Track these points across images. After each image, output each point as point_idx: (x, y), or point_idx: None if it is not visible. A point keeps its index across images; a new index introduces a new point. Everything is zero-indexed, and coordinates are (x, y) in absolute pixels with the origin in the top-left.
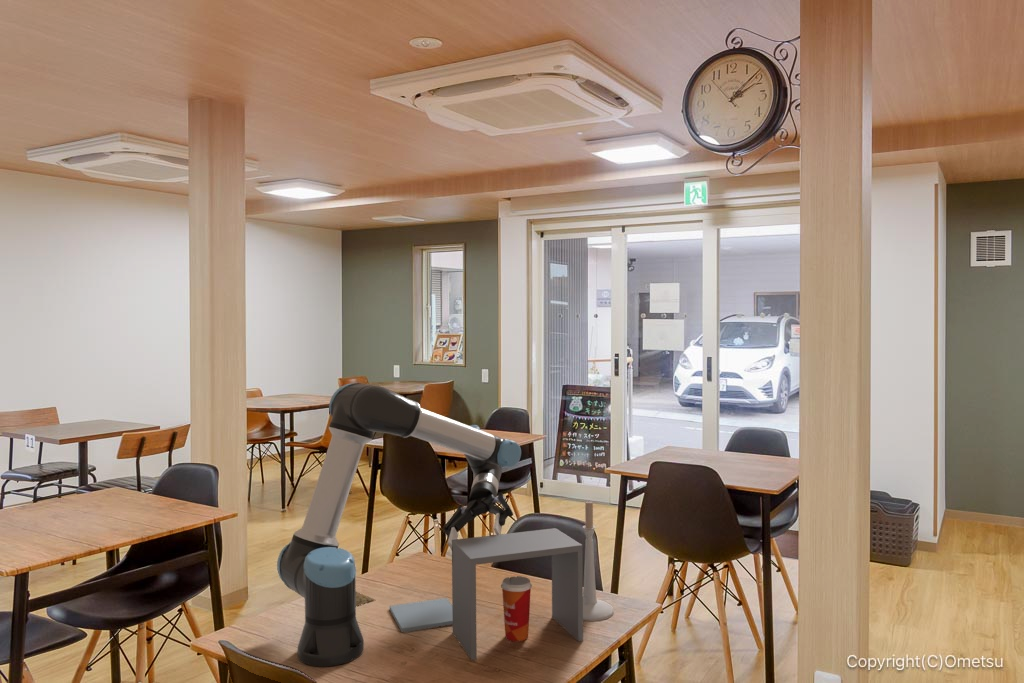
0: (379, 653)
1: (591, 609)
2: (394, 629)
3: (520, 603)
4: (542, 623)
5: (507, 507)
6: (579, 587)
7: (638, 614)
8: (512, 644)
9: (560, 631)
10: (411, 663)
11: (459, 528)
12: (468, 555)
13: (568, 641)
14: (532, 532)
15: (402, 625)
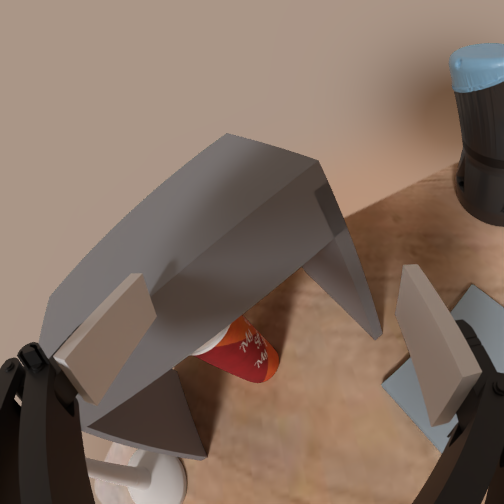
0: (445, 219)
1: (144, 455)
2: (491, 291)
3: None
4: (222, 428)
5: (7, 362)
6: None
7: (109, 462)
8: (263, 335)
9: (196, 401)
10: (386, 222)
11: (438, 465)
12: (233, 136)
13: (188, 369)
14: None
15: (480, 294)
